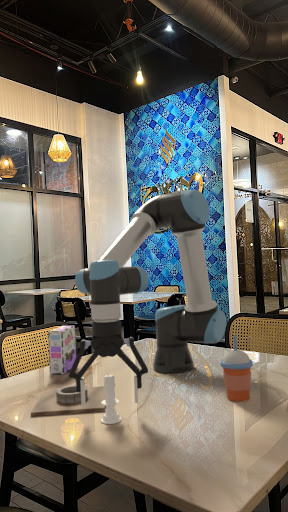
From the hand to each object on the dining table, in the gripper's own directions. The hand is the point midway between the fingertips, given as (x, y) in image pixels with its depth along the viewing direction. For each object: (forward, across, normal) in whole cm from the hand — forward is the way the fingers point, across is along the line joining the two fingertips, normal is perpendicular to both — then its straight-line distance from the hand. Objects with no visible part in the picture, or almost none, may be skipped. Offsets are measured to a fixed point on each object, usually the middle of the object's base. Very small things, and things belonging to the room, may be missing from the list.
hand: (110, 402), depth 106 cm
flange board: (+4, +12, -17) cm, 21 cm away
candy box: (+4, +20, -56) cm, 60 cm away
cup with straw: (+4, -36, -10) cm, 38 cm away
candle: (+5, 0, 0) cm, 5 cm away
